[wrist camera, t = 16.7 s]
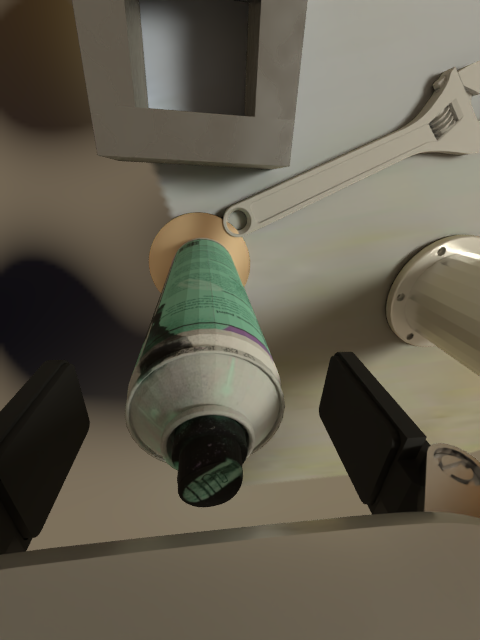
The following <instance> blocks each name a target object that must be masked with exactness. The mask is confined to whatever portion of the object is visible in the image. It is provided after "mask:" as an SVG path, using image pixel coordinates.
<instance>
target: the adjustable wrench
mask: <svg viewBox="0 0 480 640" xmlns="http://www.w3.org/2000/svg"><path fill="white" fill-rule="evenodd" d="M433 88H434V92H433V94H432V96H431V98H430V99H429V100H428V102H427V103H426V105H425V106H424V107H423V109H422V110H421V111H420V113H419V114H418V115H417V116H416V117H415V118H414V119H413V120H412V121H411V122H409V123H408V124H407V125H405V126H404V127H402V128H400V129H398V130H396V131H394V132H392V133H390V134H388V135H385V136H383V137H381V138H379V139H377V140H374V141H372V142H370V143H368V144H366V145H363V146H361V147H359V148H357V149H355V150H352V151H350V152H348V153H346V154H343V155H341V156H339V157H337V158H335V159H332V160H330V161H328V162H326V163H324V164H321V165H319V166H317V167H315V168H313V169H310V170H308V171H306V172H304V173H302V174H299V175H297V176H295V177H293V178H291V179H288V180H286V181H284V182H282V183H280V184H277V185H275V186H273V187H271V188H268V189H266V190H264V191H262V192H260V193H257V194H255V195H253V196H251V197H249V198H246V199H244V200H242V201H240V202H238V203H235V204H233V205H231V206H230V207H228V208H227V209H226V211H225V212H224V215H223V224H224V227H225V229H226V231H227V232H228V233H229V234H230V235H232V236H234V237H243V236H245V235H248V234H250V233H252V232H254V231H256V230H258V229H260V228H262V227H264V226H266V225H268V224H270V223H272V222H275V221H277V220H279V219H281V218H283V217H285V216H287V215H289V214H291V213H293V212H295V211H297V210H299V209H302V208H304V207H306V206H308V205H310V204H312V203H314V202H316V201H318V200H320V199H322V198H324V197H326V196H329V195H331V194H333V193H335V192H337V191H339V190H341V189H343V188H345V187H347V186H349V185H351V184H353V183H356V182H358V181H360V180H362V179H364V178H366V177H368V176H370V175H372V174H374V173H376V172H378V171H381V170H383V169H385V168H387V167H389V166H391V165H393V164H395V163H397V162H399V161H401V160H403V159H405V158H408V157H410V156H412V155H415V154H418V153H427V152H436V153H446V154H454V155H464V154H473V153H478V152H480V121H479V120H477V118H476V115H475V113H474V110H473V108H472V105H471V98H472V96H474V95H477V94H480V61H478V62H476V63H473V64H471V65H469V66H466V67H464V68H462V69H460V70H456V67H453V68H451V69H449V70H447V71H445V72H443V73H442V74H441V76H440V77H439V79H438V80H437V81H436V82H434V84H433ZM236 210H240V211H242V212H244V213H245V215H246V216H247V224H246V226H245V227H244V228H243V229H241V230H237V231H238V233H239V234H235V233H233V232H231V231H230V230H229V228H228V227H227V223H226V222H228V218H229V215H230V214H231V213H232V212H233V211H236ZM228 223H229V222H228Z"/></svg>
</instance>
